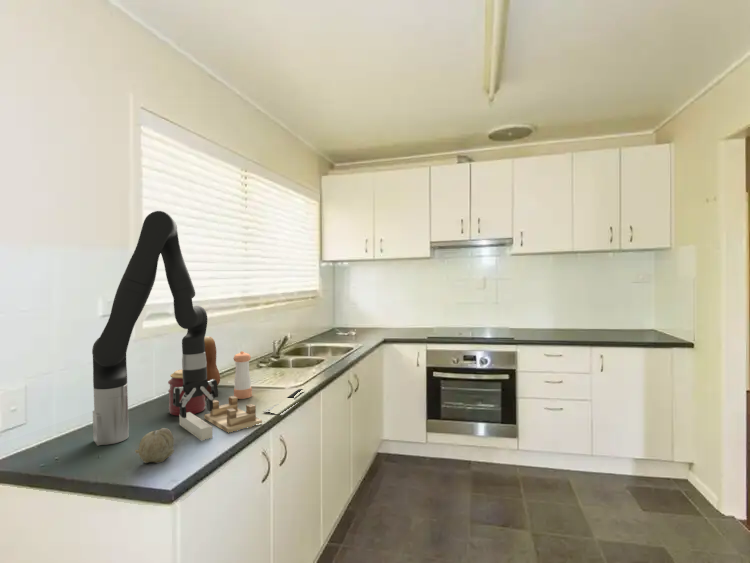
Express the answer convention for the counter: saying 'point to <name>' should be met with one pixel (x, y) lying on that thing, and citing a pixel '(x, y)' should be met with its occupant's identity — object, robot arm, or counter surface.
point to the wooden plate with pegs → (232, 416)
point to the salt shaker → (242, 376)
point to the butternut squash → (211, 361)
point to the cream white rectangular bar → (196, 426)
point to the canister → (192, 405)
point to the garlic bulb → (156, 446)
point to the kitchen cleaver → (280, 402)
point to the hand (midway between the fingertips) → (197, 414)
